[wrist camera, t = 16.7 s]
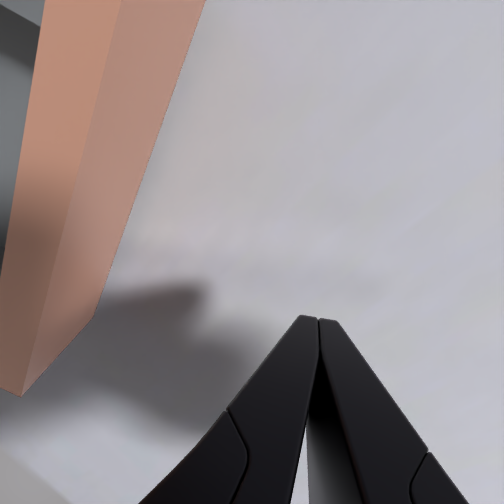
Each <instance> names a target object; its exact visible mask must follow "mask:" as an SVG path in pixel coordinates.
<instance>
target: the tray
mask: <svg viewBox="0 0 504 504" xmlns="http://www.w3.org/2000/svg"><path fill="white" fill-rule="evenodd" d="M205 1H206V0H0V388H2V389H4V390H6V391H8V392H10V393H12V394H15V395H17V396H19V397H22V395H23V394H24V393H25V392H26V391H27V390H28V389H29V388H30V387H31V385H32V384H33V383H34V382H35V381H36V380H37V379H38V378H39V377H40V375H41V374H42V373H43V372H44V371H45V370H46V369H47V368H48V367H49V366H50V364H51V363H52V362H53V361H54V360H55V359H56V358H57V357H58V356H59V354H60V353H61V352H62V351H63V350H64V349H65V348H66V347H67V346H68V345H69V343H70V342H71V341H72V340H73V339H74V338H75V337H76V336H77V335H78V333H79V332H80V331H81V330H82V329H83V328H84V327H85V326H86V325H87V323H88V322H89V321H90V320H91V319H92V318H93V316H94V313H95V311H96V308H97V305H98V302H99V299H100V297H101V294H102V291H103V288H104V285H105V282H106V280H107V277H108V274H109V271H110V268H111V266H112V263H113V260H114V257H115V254H116V251H117V249H118V246H119V243H120V240H121V237H122V235H123V232H124V229H125V226H126V223H127V220H128V218H129V215H130V212H131V209H132V206H133V204H134V201H135V198H136V195H137V192H138V190H139V187H140V184H141V181H142V178H143V175H144V173H145V170H146V167H147V164H148V161H149V159H150V156H151V153H152V150H153V147H154V144H155V142H156V139H157V136H158V133H159V130H160V128H161V125H162V122H163V119H164V116H165V113H166V111H167V108H168V105H169V102H170V99H171V97H172V94H173V91H174V88H175V85H176V82H177V80H178V77H179V74H180V71H181V68H182V66H183V63H184V60H185V57H186V54H187V52H188V49H189V46H190V43H191V40H192V37H193V35H194V32H195V29H196V26H197V23H198V21H199V18H200V15H201V12H202V9H203V6H204V4H205Z"/></svg>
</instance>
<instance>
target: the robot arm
mask: <svg viewBox="0 0 504 504" xmlns="http://www.w3.org/2000/svg"><path fill="white" fill-rule="evenodd" d="M305 428H306V438H307V463H308V487H309V504H469V503H468V502H467V500H466V499H465V498H464V496H463V495H462V494H461V492H460V491H459V490H458V488H457V487H456V486H455V484H454V483H453V482H452V480H451V479H450V478H449V476H448V475H447V474H446V472H445V471H444V469H443V468H442V467H441V465H440V464H439V462H438V461H437V460H436V458H435V457H434V455H433V454H432V453H431V452H428V447H427V446H426V444H425V443H424V442H423V440H422V439H421V437H420V436H419V435H418V433H417V432H416V430H415V429H414V428H413V426H412V425H411V423H410V422H409V421H408V419H407V418H406V416H405V415H404V414H403V412H402V411H401V409H400V408H399V407H398V405H397V404H396V402H395V401H394V400H393V398H392V397H391V395H390V394H389V393H388V391H387V390H386V388H385V387H384V386H383V384H382V383H381V381H380V380H379V379H378V377H377V376H376V374H375V373H374V372H373V370H372V369H371V367H370V366H369V364H368V363H367V362H366V360H365V359H364V357H363V356H362V355H361V353H360V352H359V350H358V349H357V348H356V346H355V345H354V343H353V342H352V341H351V339H350V338H349V336H348V335H347V334H346V332H345V331H344V329H343V328H342V327H341V325H340V324H339V323H338V322H337V321H335V320H330V319H324V318H320V319H319V320H318V319H317V318H316V317H312V316H306V315H299V316H298V317H297V319H296V320H295V321H294V322H293V324H292V325H291V326H290V328H289V329H288V330H287V331H286V333H285V334H284V335H283V336H282V338H281V339H280V340H279V342H278V343H277V344H276V345H275V347H274V348H273V349H272V351H271V352H270V353H269V354H268V356H267V357H266V358H265V359H264V361H263V362H262V363H261V365H260V366H259V367H258V368H257V370H256V371H255V372H254V374H253V375H252V376H251V377H250V379H249V380H248V381H247V382H246V384H245V385H244V386H243V388H242V389H241V390H240V391H239V393H238V394H237V395H236V397H235V398H234V399H233V400H232V402H231V403H230V404H229V405H228V407H227V408H226V411H224V412H223V413H222V414H221V415H220V417H219V418H218V419H217V420H216V422H215V423H214V424H213V426H212V427H211V428H210V429H209V430H208V432H207V433H206V434H205V435H204V436H203V437H202V439H201V440H200V441H199V442H198V443H197V445H196V446H195V447H194V448H193V449H192V450H191V451H190V452H189V453H188V454H187V455H186V456H185V457H184V458H183V459H182V461H181V462H180V463H179V464H178V465H177V466H176V467H175V468H174V469H173V470H172V471H171V472H170V473H169V474H168V475H167V476H166V477H165V478H164V479H163V480H162V481H161V482H160V483H159V484H158V485H157V486H156V487H155V488H154V489H153V490H152V491H151V492H150V493H149V494H148V495H147V496H146V497H145V498H144V499H142V500H141V501H140V502H139V503H138V504H290V503H291V498H292V493H293V488H294V483H295V478H296V473H297V468H298V463H299V458H300V453H301V448H302V443H303V438H304V433H305ZM427 452H428V453H427Z"/></svg>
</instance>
